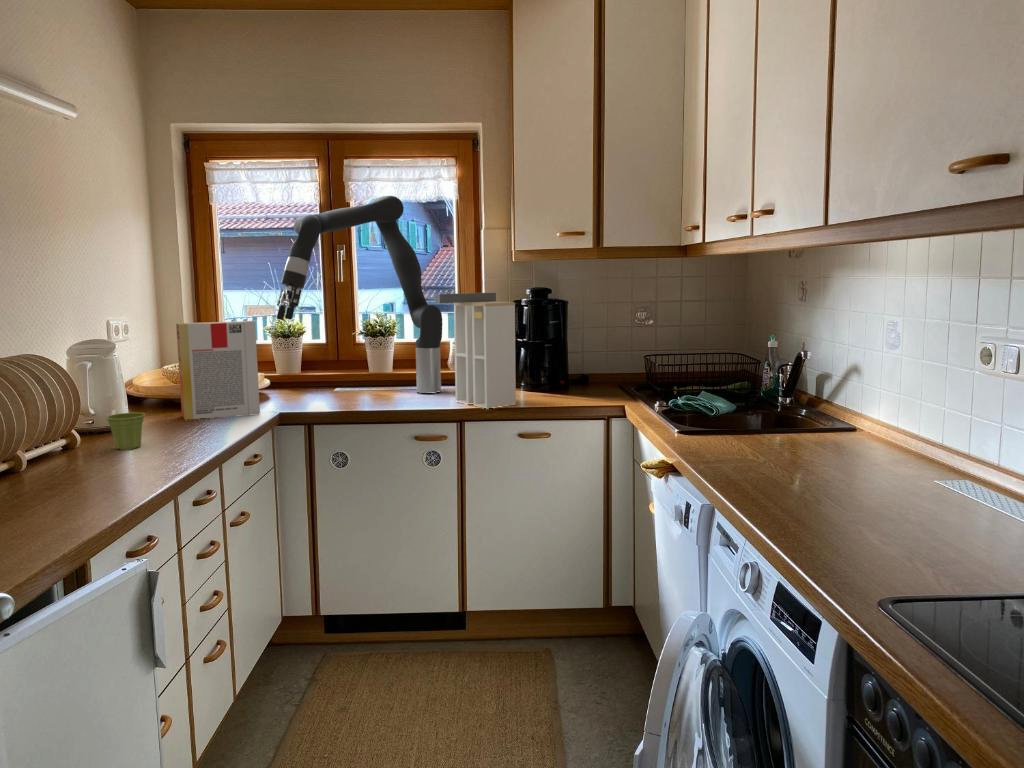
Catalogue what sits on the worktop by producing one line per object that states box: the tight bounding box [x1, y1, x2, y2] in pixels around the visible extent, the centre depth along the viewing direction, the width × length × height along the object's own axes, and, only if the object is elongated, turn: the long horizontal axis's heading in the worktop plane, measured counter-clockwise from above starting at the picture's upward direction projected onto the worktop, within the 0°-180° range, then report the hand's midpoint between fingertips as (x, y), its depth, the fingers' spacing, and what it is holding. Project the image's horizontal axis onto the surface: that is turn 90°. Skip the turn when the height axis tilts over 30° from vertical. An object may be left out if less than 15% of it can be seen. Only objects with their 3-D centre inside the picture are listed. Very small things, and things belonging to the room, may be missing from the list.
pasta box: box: [175, 320, 261, 420], centre depth 266 cm, size 23×8×30 cm, turn 117°
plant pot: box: [105, 412, 146, 451], centre depth 218 cm, size 9×9×9 cm
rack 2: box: [472, 301, 517, 410], centre depth 279 cm, size 12×8×35 cm, turn 127°
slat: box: [434, 292, 497, 304], centre depth 283 cm, size 23×3×3 cm, turn 127°
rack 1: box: [453, 302, 482, 403], centre depth 288 cm, size 12×8×35 cm, turn 127°
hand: (283, 319), depth 276 cm, fingers open, 8 cm apart
